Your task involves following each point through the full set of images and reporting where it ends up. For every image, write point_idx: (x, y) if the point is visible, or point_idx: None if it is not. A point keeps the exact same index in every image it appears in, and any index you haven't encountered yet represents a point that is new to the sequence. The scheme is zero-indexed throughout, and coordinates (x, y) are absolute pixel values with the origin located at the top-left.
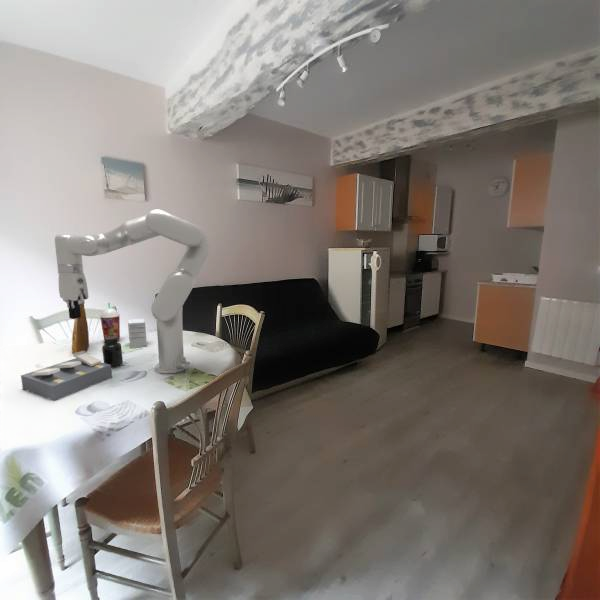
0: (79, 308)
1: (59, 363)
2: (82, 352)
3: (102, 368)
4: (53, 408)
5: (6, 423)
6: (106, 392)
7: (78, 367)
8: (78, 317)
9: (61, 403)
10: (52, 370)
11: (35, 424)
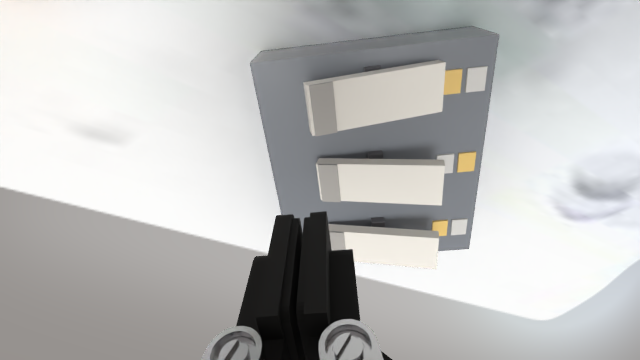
0: (327, 302)
1: (324, 185)
2: (327, 99)
3: (491, 81)
4: (491, 235)
5: (458, 299)
6: (562, 116)
7: (385, 135)
8: (329, 233)
9: (486, 216)
10: (437, 257)
11: (522, 278)
